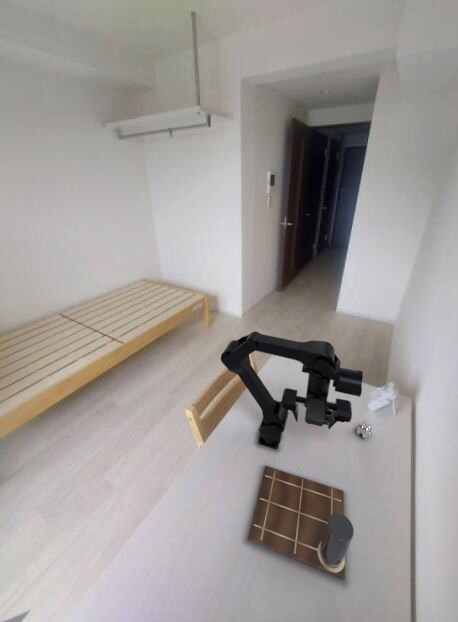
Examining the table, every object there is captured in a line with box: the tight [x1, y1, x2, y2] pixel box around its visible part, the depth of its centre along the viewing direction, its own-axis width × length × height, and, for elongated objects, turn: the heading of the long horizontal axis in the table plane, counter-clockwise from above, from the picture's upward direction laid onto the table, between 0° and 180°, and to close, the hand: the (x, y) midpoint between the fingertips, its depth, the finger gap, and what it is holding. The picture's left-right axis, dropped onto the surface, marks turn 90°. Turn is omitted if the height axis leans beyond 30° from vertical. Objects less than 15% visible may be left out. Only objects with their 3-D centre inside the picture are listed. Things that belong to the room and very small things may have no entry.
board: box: [248, 465, 346, 581], centre depth 71 cm, size 22×19×2 cm
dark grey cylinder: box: [320, 513, 355, 568], centre depth 60 cm, size 5×5×13 cm
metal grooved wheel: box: [356, 419, 373, 439], centre depth 91 cm, size 5×3×5 cm, turn 129°
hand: (312, 424), depth 81 cm, fingers open, 9 cm apart
